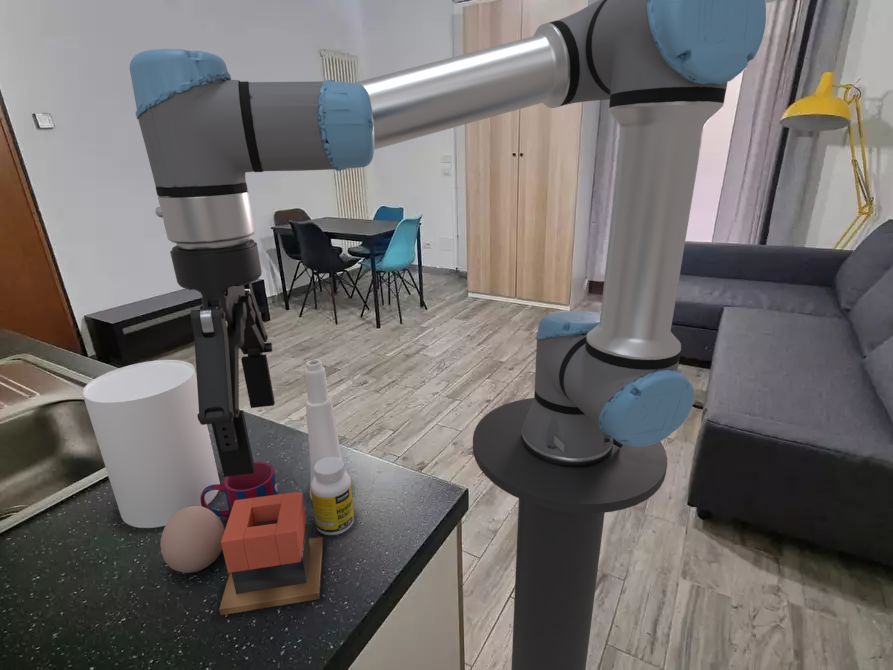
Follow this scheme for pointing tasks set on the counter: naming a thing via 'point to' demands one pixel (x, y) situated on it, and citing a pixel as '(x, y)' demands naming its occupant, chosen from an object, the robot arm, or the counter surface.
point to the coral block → (264, 532)
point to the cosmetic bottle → (320, 416)
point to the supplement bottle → (332, 496)
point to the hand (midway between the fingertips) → (252, 435)
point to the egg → (192, 539)
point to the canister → (152, 439)
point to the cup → (244, 487)
